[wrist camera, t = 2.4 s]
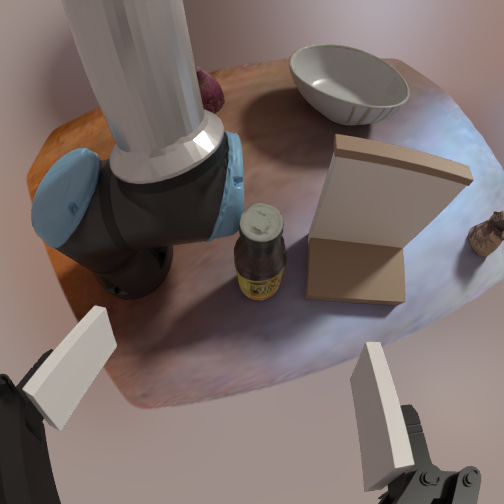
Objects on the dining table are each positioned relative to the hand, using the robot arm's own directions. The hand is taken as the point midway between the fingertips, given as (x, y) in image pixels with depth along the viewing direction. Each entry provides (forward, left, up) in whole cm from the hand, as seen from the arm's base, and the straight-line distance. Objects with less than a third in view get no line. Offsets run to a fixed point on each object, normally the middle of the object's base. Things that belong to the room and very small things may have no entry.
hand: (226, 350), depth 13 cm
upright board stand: (0, +21, -28) cm, 35 cm away
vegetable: (-50, +24, -29) cm, 62 cm away
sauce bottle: (-8, +8, -29) cm, 31 cm away
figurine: (+16, +49, -29) cm, 59 cm away
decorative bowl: (-28, +49, -29) cm, 63 cm away
